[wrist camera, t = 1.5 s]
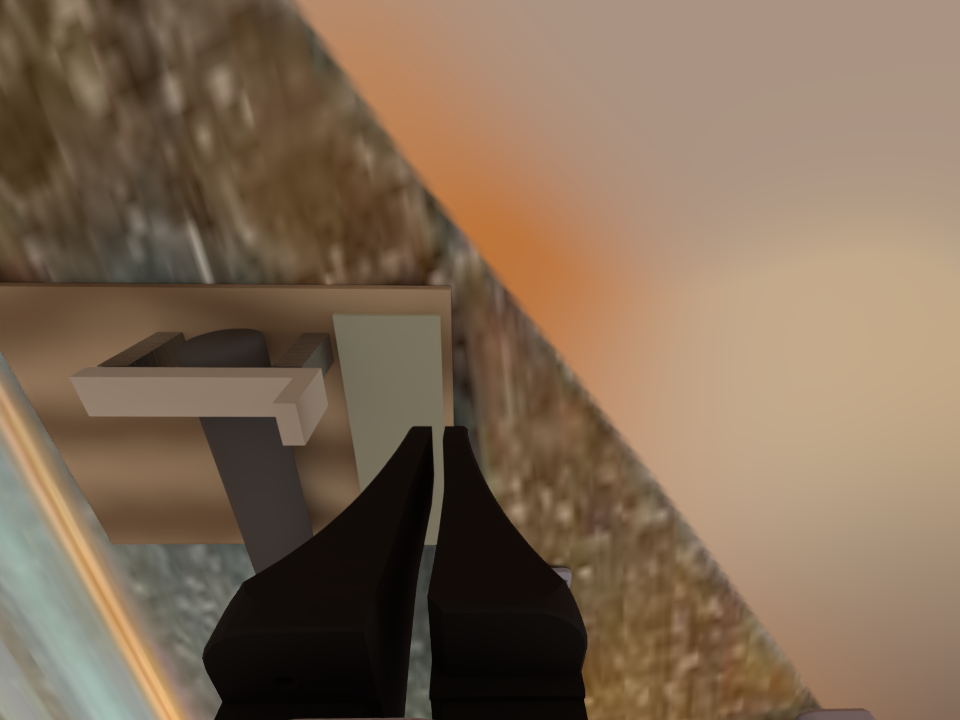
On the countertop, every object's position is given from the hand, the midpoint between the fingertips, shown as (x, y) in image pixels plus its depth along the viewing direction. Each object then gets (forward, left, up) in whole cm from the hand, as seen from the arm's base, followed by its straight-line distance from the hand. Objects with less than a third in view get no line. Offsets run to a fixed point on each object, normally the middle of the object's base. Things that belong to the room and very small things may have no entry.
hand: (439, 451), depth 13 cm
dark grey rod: (-6, +10, -8) cm, 14 cm away
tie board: (-5, +11, -8) cm, 15 cm away
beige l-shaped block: (0, +10, -4) cm, 10 cm away
